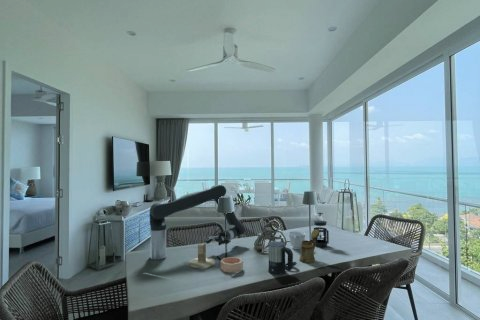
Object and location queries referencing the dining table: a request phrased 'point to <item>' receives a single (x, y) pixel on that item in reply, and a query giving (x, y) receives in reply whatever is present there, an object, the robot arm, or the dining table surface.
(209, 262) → the oak lid
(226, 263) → the terracotta bowl
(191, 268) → the grey flat slab
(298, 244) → the teacup
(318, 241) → the french press
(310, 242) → the wooden mug
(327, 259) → the dining table surface
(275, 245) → the milk frother
